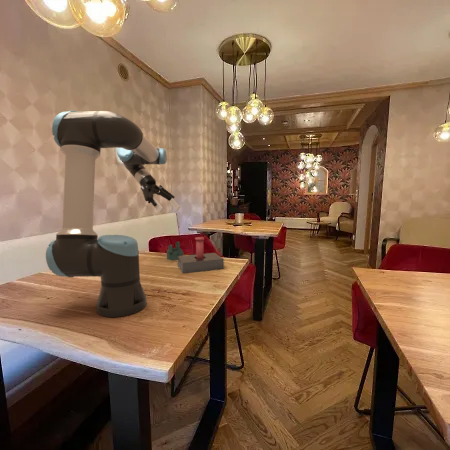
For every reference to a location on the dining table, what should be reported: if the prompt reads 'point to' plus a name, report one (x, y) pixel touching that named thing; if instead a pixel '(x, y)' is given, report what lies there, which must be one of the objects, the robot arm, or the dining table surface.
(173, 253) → the green knobbed block
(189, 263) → the socket block
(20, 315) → the dining table surface
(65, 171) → the robot arm
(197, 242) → the pin
